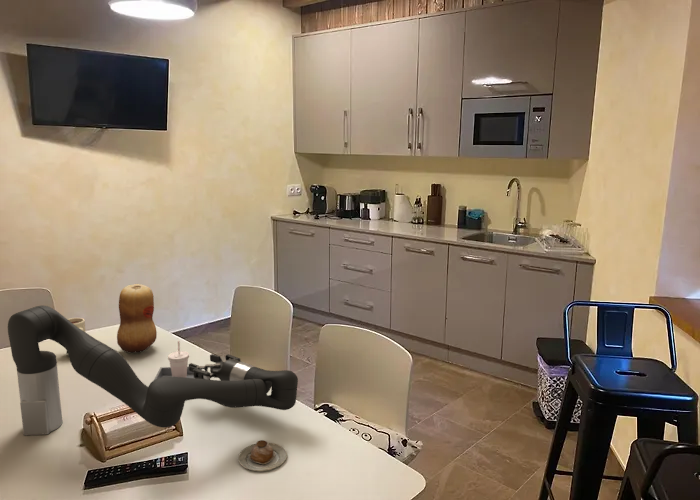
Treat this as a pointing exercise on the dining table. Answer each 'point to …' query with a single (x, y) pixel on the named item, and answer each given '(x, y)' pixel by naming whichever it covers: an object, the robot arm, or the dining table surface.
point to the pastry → (262, 455)
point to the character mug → (78, 323)
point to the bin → (167, 373)
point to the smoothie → (178, 362)
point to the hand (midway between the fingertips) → (200, 361)
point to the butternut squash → (136, 319)
